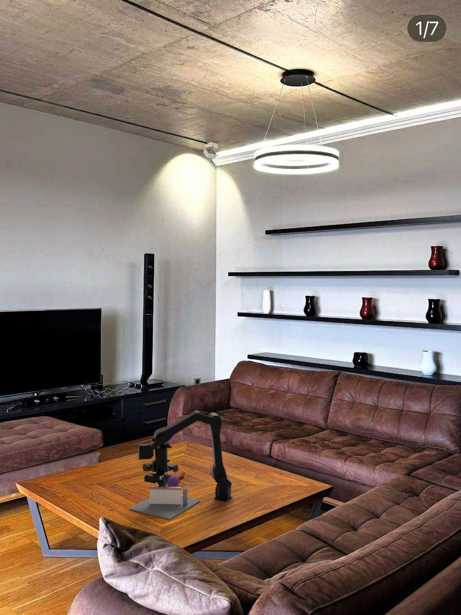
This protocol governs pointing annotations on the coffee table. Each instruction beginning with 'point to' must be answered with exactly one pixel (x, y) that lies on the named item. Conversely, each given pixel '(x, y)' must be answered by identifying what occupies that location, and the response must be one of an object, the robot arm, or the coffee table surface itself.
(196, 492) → the coffee table surface
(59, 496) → the coffee table surface
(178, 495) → the gate
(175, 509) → the flat gray base plate
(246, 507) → the coffee table surface
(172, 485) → the kendama
